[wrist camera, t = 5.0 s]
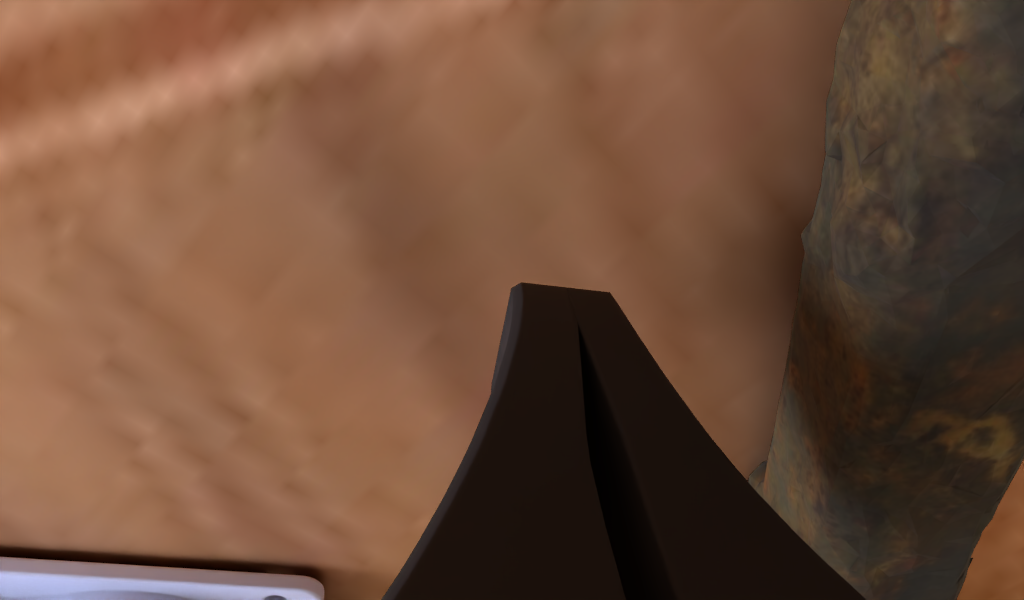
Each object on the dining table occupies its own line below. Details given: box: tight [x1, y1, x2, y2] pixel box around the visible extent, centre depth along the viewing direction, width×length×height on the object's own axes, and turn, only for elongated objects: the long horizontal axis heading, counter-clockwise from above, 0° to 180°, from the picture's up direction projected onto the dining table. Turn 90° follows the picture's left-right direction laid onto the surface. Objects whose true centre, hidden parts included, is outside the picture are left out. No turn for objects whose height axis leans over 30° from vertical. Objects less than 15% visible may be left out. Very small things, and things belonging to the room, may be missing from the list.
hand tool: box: [748, 0, 1024, 600], centre depth 11 cm, size 19×4×5 cm, turn 2°
